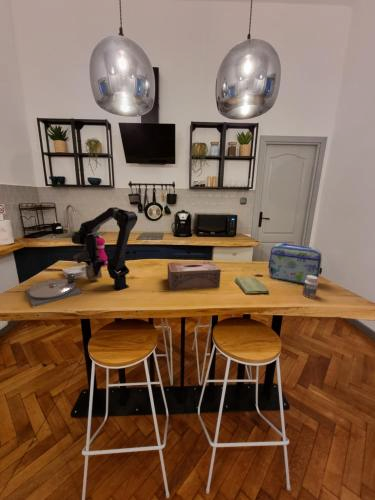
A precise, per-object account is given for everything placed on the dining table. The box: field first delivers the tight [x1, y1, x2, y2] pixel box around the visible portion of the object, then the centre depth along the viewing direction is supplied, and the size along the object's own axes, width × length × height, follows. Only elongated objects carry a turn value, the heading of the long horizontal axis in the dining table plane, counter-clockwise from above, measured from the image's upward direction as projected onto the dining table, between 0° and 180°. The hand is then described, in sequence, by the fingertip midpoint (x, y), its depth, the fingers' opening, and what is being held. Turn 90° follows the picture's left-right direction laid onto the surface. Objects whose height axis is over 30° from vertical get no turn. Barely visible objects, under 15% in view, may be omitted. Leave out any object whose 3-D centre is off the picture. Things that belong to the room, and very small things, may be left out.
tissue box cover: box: [167, 260, 222, 291], centre depth 114 cm, size 26×14×10 cm, turn 101°
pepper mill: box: [96, 235, 108, 268], centre depth 136 cm, size 7×7×20 cm
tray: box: [62, 264, 87, 280], centre depth 122 cm, size 12×12×3 cm
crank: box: [29, 273, 76, 299], centre depth 99 cm, size 18×18×6 cm
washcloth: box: [234, 276, 270, 295], centre depth 112 cm, size 13×18×3 cm
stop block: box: [85, 265, 103, 281], centre depth 113 cm, size 6×6×6 cm
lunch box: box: [267, 242, 322, 285], centre depth 120 cm, size 26×11×21 cm, turn 57°
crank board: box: [25, 284, 83, 307], centre depth 100 cm, size 19×19×1 cm
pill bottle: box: [302, 275, 319, 299], centre depth 103 cm, size 6×6×10 cm
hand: (93, 274), depth 113 cm, fingers closed on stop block, 6 cm apart
